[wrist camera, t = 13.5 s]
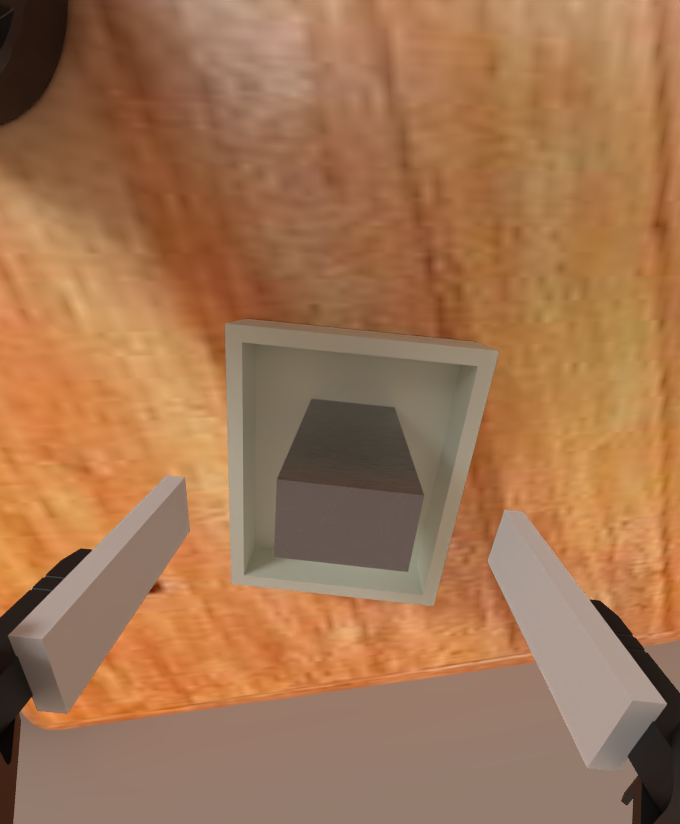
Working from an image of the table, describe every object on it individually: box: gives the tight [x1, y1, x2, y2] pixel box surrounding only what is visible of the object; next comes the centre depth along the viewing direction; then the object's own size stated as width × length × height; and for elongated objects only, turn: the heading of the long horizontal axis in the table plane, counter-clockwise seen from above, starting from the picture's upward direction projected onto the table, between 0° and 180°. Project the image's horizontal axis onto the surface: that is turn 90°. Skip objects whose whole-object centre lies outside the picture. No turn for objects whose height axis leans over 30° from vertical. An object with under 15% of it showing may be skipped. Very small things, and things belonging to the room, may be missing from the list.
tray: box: [225, 319, 499, 606], centre depth 24 cm, size 20×16×4 cm
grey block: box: [274, 399, 424, 572], centre depth 20 cm, size 10×6×11 cm, turn 175°
